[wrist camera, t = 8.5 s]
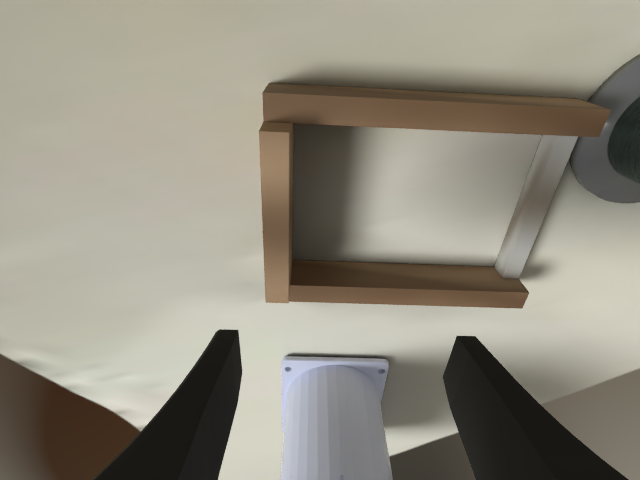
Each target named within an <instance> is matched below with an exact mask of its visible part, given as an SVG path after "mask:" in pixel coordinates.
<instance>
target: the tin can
mask: <svg viewBox="0 0 640 480" xmlns="http://www.w3.org/2000/svg"><path fill="white" fill-rule="evenodd" d="M607 153H608V159H609V162H610V164H611V166H612V168H613V169H614V170H615V171H616V172H617V173H618V174H620V175H622V176H624V177H626V178H628V179H630V180H632V181H633V182H635V183H637V184H639V185H640V97H638V98H637V99H636V100H635V101H634V102H633V103H632V104H631V105H629V106H628V108H627V109H626V110H625V111H624V112H623V113H622V115H621V116H620V118H619V119H618V121H617V122H616V124H615V126H614V128H613V130H612V132H611V135H610V138H609V141H608V149H607Z"/></svg>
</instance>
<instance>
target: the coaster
mask: <svg viewBox="0 0 640 480" xmlns="http://www.w3.org/2000/svg"><path fill="white" fill-rule="evenodd" d="M638 97H640V55H638V56H636V57H635V58H633V59H632V60H630V61H629V62H627V63H626V64H624V65H623V66H622V67H620V68H619V69H618V70H617V71H615V72H614V73H613V74H612V75H611V76H610V77H609V78H608V79H607V80H606V81H605V82H604V83H603V84H602V85H601V86H600V87H599V88H598V89H597V91H596V92H595V93H594V94H593V96H592V97H591V98H590V100H589V101H588V102H589V103H592V104H595V105H598V106H601V107H604V108H607V109H610V110H611V111H610V114H609V116H608V118H607V120H606V123H605V125H604V127H603V129H602V132H601V134H600V136H599V137H578V138H577V140H576V143H575V145H574V148H573V150H572V152H571V155H570V163H571V167H572V171H573V173H574V175H575V177H576V179H577V180H578V181H579V183H580V184H581V185H582V186H583V187H584V188H585V189H587V190H588V191H590V192H591V193H593V194H595V195H596V196H598V197H599V198H602V199H604V200H607V201H611V202H616V203H636V202H640V185H639V184H637V183H635V182H633V181H632V180H630V179H628V178H626V177H624V176H622V175H620V174H618V173H617V172H616V171H615V170H614V169H613V168H612V166H611V164H610V162H609V159H608V153H607V149H608V141H609V138H610V135H611V132H612V130H613V128H614V126H615V124H616V122H617V121H618V119H619V118H620V116H621V115H622V113H623V112H624V111H625V110H626V109H627V108H628V106H629V105H631V104H632V103H633V102H634V101H635V100H636V99H637V98H638Z"/></svg>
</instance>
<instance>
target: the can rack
mask: <svg viewBox="0 0 640 480" xmlns="http://www.w3.org/2000/svg"><path fill="white" fill-rule="evenodd" d="M610 111H611V110H610V109H607V108H604V107H601V106H598V105H595V104H592V103H589V102H586V101H583V100H579V99H576V98H557V97H537V96H517V95H498V94H478V93H458V92H438V91H418V90H398V89H378V88H358V87H338V86H318V85H298V84H278V83H269V84H268V86H267V87H266V88H265V90H264V91H263V117H264V122H263V124H262V126H261V128H260V130H259V141H260V167H261V193H262V219H263V245H264V271H265V297H266V302H269V303H288V302H289V301H292V302H326V303H359V304H393V305H426V306H460V307H494V308H523V306H524V303H525V301H526V299H527V297H528V294H529V292H528V290H527V289H526V288H525V287H524V285H523V284H522V283H521V281H520V280H519V277H520V274H521V272H522V270H523V267H524V265H525V262H526V260H527V258H528V255H529V253H530V250H531V248H532V246H533V243H534V241H535V238H536V236H537V234H538V231H539V229H540V227H541V224H542V222H543V219H544V217H545V215H546V212H547V210H548V207H549V205H550V203H551V200H552V198H553V195H554V193H555V191H556V188H557V186H558V183H559V181H560V179H561V176H562V174H563V172H564V169H565V167H566V164H567V162H568V160H569V157H570V155H571V152H572V150H573V148H574V145H575V143H576V140H577V138H578V137H599V136H600V134H601V132H602V129H603V127H604V125H605V123H606V120H607V118H608V116H609V114H610ZM294 123H299V124H320V125H342V126H363V127H385V128H406V129H428V130H449V131H471V132H492V133H514V134H535V135H542V138H541V141H540V143H539V146H538V149H537V151H536V154H535V157H534V160H533V162H532V165H531V168H530V171H529V173H528V176H527V179H526V181H525V184H524V187H523V190H522V192H521V195H520V198H519V201H518V203H517V206H516V209H515V212H514V214H513V217H512V220H511V222H510V225H509V228H508V231H507V233H506V236H505V239H504V242H503V244H502V247H501V250H500V252H499V255H498V258H497V261H496V263H495V266H494V267H486V266H457V265H427V264H397V263H367V262H338V261H308V260H292V257H293V165H294Z"/></svg>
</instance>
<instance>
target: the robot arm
mask: <svg viewBox="0 0 640 480" xmlns="http://www.w3.org/2000/svg"><path fill="white" fill-rule="evenodd" d="M281 365H282V432H283V433H284V438H283V452H282V465H281V478H280V480H392V473H391V467H390V461H389V454H388V448H387V442H386V436H385V430H384V424H383V418H382V412H381V406H380V405H381V401H382V396H383V392H384V387H385V383H386V378H387V373H388V369H389V363H388V361H387V360H386V359H377V358H336V357H296V356H287V357H284V358H283V359H282V364H281ZM241 377H242V365H241V355H240V344H239V334H238V330H218V331H217V332H216V333H215V335H214V336H213V338H212V340H211V341H210V343H209V345H208V346H207V348H206V349H205V351H204V352H203V354H202V355H201V357H200V358H199V360H198V361H197V363H196V364H195V365H194V367H193V368H192V370H191V371H190V372H189V374H188V375H187V376H186V378H185V379H184V380H183V382H182V383H181V385H180V386H179V387H178V388H177V390H176V391H175V392H174V393H173V395H172V396H171V397H170V398H169V400H168V401H167V402H166V403H165V404H164V406H163V407H162V408H161V409H160V411H159V412H158V413H157V414H156V415H155V416H154V418H153V419H152V420H151V421H150V422H149V423H148V424H147V426H146V427H145V428H144V429H143V430H142V431H141V432H140V433H139V434H138V436H136V438H135V439H134V440H133V441H132V442H131V443H130V444H129V445H128V446H127V447H126V448H125V449H124V450H123V451H122V452H121V453H120V454H119V455H118V456H117V457H116V458H115V459H114V460H113V461H112V462H111V463H110V464H109V465H108V466H107V467H106V468H105V469H104V470H103V471H102V472H101V473H99V474H98V475H97V476H96V477H95V478H94V479H93V480H218V476H219V472H220V468H221V464H222V461H223V457H224V453H225V449H226V445H227V442H228V438H229V434H230V430H231V426H232V422H233V419H234V415H235V411H236V407H237V403H238V396H239V390H240V383H241ZM443 379H444V383H445V388H446V393H447V397H448V401H449V405H450V409H451V411H452V414H453V417H454V420H455V423H456V426H457V428H458V431H459V434H460V437H461V439H462V442H463V445H464V448H465V450H466V453H467V456H468V458H469V461H470V464H471V467H472V469H473V471H474V475H475V478H476V480H628V479H627V478H626V477H624V476H623V475H622V474H620V473H619V472H618V471H617V470H615V469H614V468H613V467H611V466H610V465H609V464H607V463H606V462H605V461H603V460H602V459H601V458H600V457H599V456H597V455H596V454H595V453H594V452H593V451H591V450H590V449H589V448H588V447H587V446H585V445H584V444H583V443H582V442H581V441H580V440H578V439H577V438H576V437H575V436H573V435H572V434H571V433H570V432H569V431H568V430H567V429H566V428H564V427H563V426H562V425H561V424H560V423H559V422H558V421H557V420H556V419H555V418H554V417H553V416H552V415H551V414H549V413H548V412H547V411H546V410H545V409H544V408H543V407H542V406H541V405H540V404H539V403H538V402H537V401H536V400H535V399H534V398H533V397H532V396H531V395H530V394H529V393H528V392H527V391H526V390H525V389H524V388H523V387H522V386H521V385H520V384H519V383H518V382H517V381H516V380H515V379H514V378H513V377H512V376H511V375H510V373H509V372H508V371H507V370H506V369H505V368H504V367H503V366H502V365H501V364H500V363H499V362H498V361H497V359H496V358H495V357H494V356H493V355H492V354H491V353H490V352H489V351H488V350H487V349H486V348H485V346H484V345H483V344H482V343H481V342H480V341H479V340H478V339H477V338H476V337H475V336H457V337H456V340H455V343H454V346H453V349H452V352H451V355H450V358H449V361H448V364H447V366H446V369H445V372H444V375H443Z"/></svg>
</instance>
